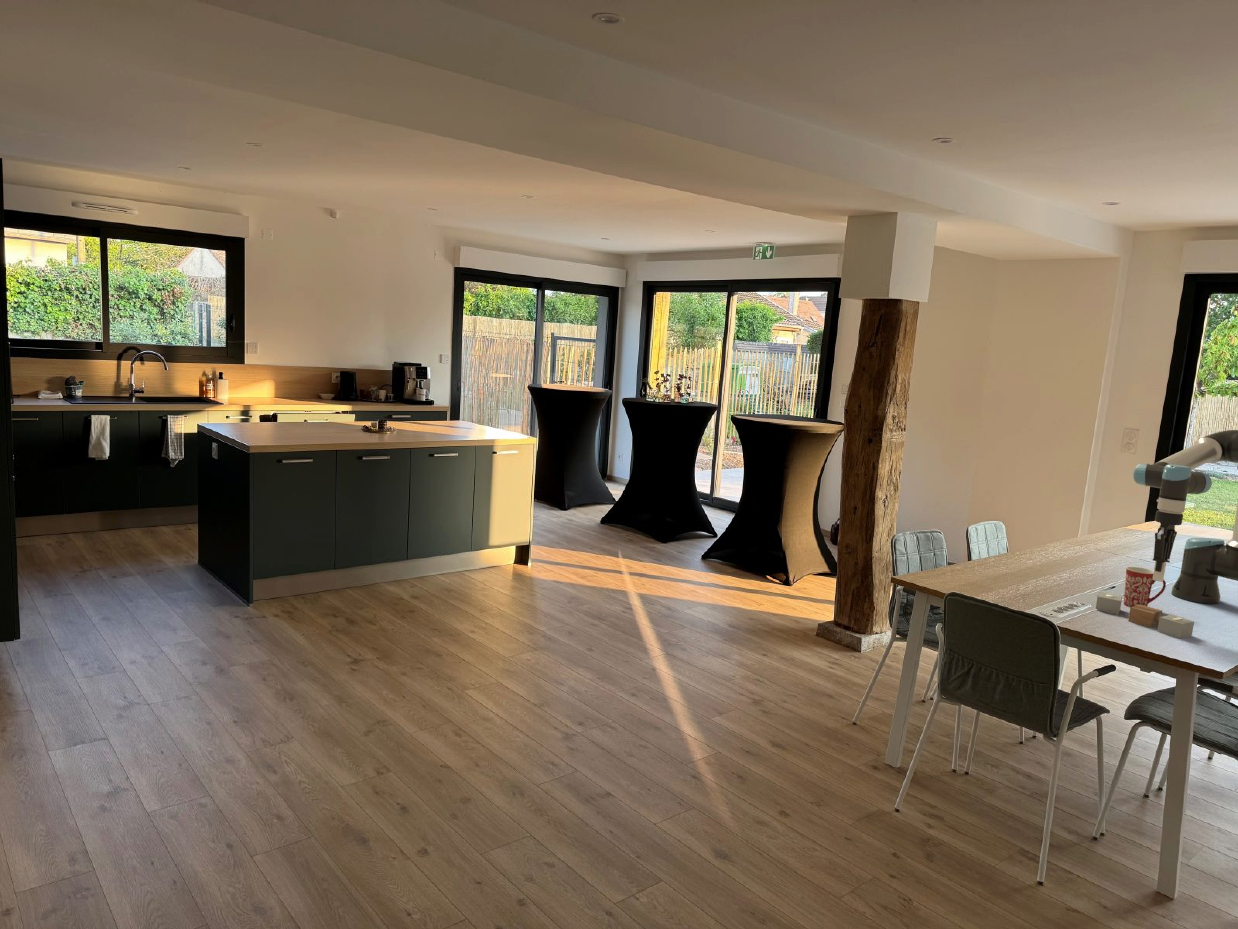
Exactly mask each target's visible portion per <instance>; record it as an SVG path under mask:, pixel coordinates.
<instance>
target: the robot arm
mask: <svg viewBox="0 0 1238 929" xmlns="http://www.w3.org/2000/svg"><path fill="white" fill-rule="evenodd" d="M1219 461H1220V462H1221V461H1222V462H1231V463H1237V464H1238V429H1229V430H1227V429H1226V430H1222V431H1218V432H1214V433H1210V434H1208V435H1205V436H1203V437H1201V438H1198V439H1197V440H1196V441H1195V442H1194V444H1192V445H1191V446H1189V447H1186V448H1184V449H1182V450H1180V451H1178V452H1175V453H1174V454H1171V455H1169V456H1168V457H1165V458H1163V459H1161V460H1159V461H1157V462H1154V463H1152V464H1150V463H1139V464H1137V465H1136V466H1135V468H1134V470H1133V473H1132V474H1133V475H1132V476H1133V481H1134V482H1135V484H1138V485H1141V486H1145V487H1150V488H1157V489H1159V494H1158V498H1157V499H1156V502H1157V508H1156V509H1158V510H1156V511H1155V517H1154V521H1155V522H1156V523H1159V527H1158V528H1157V532H1155V533H1154V547H1153V548H1154V549H1153V558H1152V561H1153V562H1155V564H1154V568H1153V571H1154V573H1153V579H1152V580H1155V582H1158V583H1159V582H1160V583H1163V579H1164V580H1165V573H1166V566H1167V563H1170V562H1171V561H1170V558H1171V554H1172V551H1173V547H1174V544H1175V540H1176V536H1177V535H1178V531H1176V526H1181V525H1182V524H1183V519H1184V514H1183V513H1185V508H1186V502H1187V496H1188V495H1201V494H1204V493H1207V492H1209V490H1210V489H1211V487H1212V485H1213V480H1212V478H1211V476H1210V475H1209V474H1208V473H1206V472H1204V471H1198V470H1195V471H1193V470H1194V469H1196V468H1199V467H1201V466H1203V465H1205V464H1212V463H1216V462H1219ZM1237 470H1238V466H1237ZM1234 517H1235V518H1234V523H1233V524H1234V525H1233V531H1232V537H1231V539H1229V540H1228V541H1226V543H1225V540H1224V539H1221V538H1212V537H1190V538H1188V539H1186V541H1185V545H1184V548H1183V555H1182V561H1181V562H1182V563H1181V567H1180V568H1181V569H1180V573H1179V576H1178V578H1177V579H1176V581H1175V583H1174V584H1173V585H1172V588H1171V595H1172V596H1174V597H1176V598H1179V599H1182V600H1186V601H1189V602H1195V603H1201V604H1210V605H1211V604H1212V605H1217V604H1219V603H1220V602H1221V592H1220V588H1219V583H1218V580H1219V579H1218V578H1219V577H1222V578H1225V579H1229V580H1233V581H1236V582H1238V502H1237V505H1236V511H1235V516H1234ZM1225 544H1226V545H1225Z"/></svg>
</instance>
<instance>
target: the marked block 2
mask: <svg viewBox="0 0 1238 929" xmlns="http://www.w3.org/2000/svg"><path fill="white" fill-rule="evenodd" d="M1194 625H1195V621H1194V620H1190V619H1188V618H1183V617H1180V616H1176V615H1175V614H1169V615H1163V616H1161V617H1160V618H1159V624H1158V625H1157V630H1156V631H1157V632H1158V633H1161V634H1164V635H1168V636H1171V637H1174V638H1177V639H1185V638H1189V637H1192V636H1193V632H1194Z"/></svg>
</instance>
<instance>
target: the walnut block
mask: <svg viewBox="0 0 1238 929" xmlns="http://www.w3.org/2000/svg"><path fill="white" fill-rule="evenodd" d="M1162 615H1163V610H1162V609H1158V608H1154V607H1151V606H1144V605H1136V606H1133V607H1129V615H1128V622H1131V623H1134V624H1137V625H1141V626H1145V627H1147V628H1153V627H1158V624H1159V618H1160V617H1162Z"/></svg>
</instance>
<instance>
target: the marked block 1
mask: <svg viewBox="0 0 1238 929" xmlns="http://www.w3.org/2000/svg"><path fill="white" fill-rule="evenodd" d="M1122 600H1123V596H1122V595H1117V594H1111V593H1107V592H1102V591H1100V592H1099V593H1098V595H1097V597H1096V605H1095V610H1096V609H1097V610H1096V611H1100V610H1101V611H1100V612H1105V613H1111V614H1115V615H1119V614H1120V612H1121V606H1122V602H1123V601H1122Z"/></svg>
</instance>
